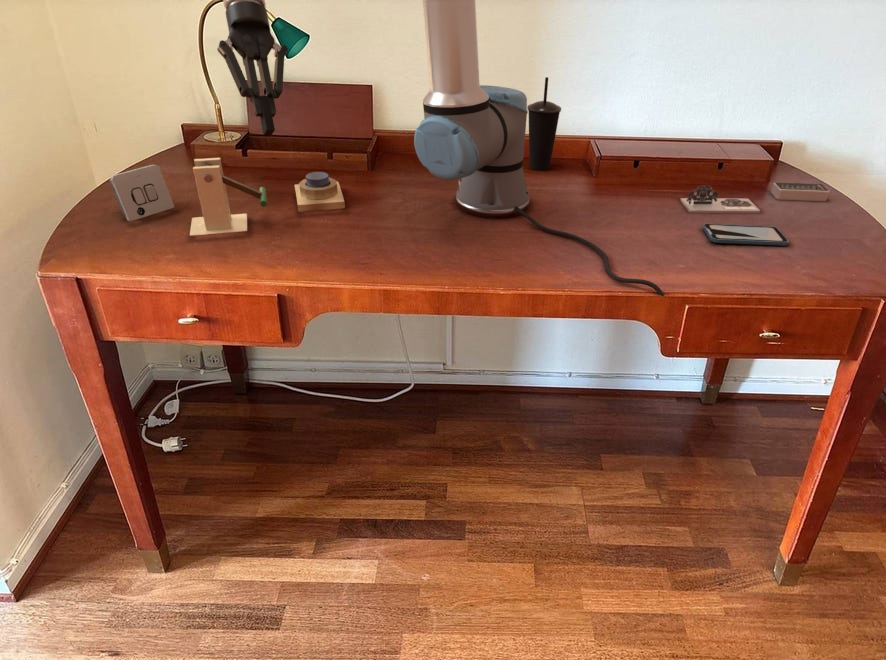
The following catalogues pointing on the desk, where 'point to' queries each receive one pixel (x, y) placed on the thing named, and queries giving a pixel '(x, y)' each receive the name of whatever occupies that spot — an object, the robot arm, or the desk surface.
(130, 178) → the electrical switch
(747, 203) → the car cutout
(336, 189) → the button box
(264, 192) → the lever
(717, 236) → the smartphone
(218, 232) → the switch bracket
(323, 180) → the button
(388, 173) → the desk surface
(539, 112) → the drinking cup
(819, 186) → the multiport hub
